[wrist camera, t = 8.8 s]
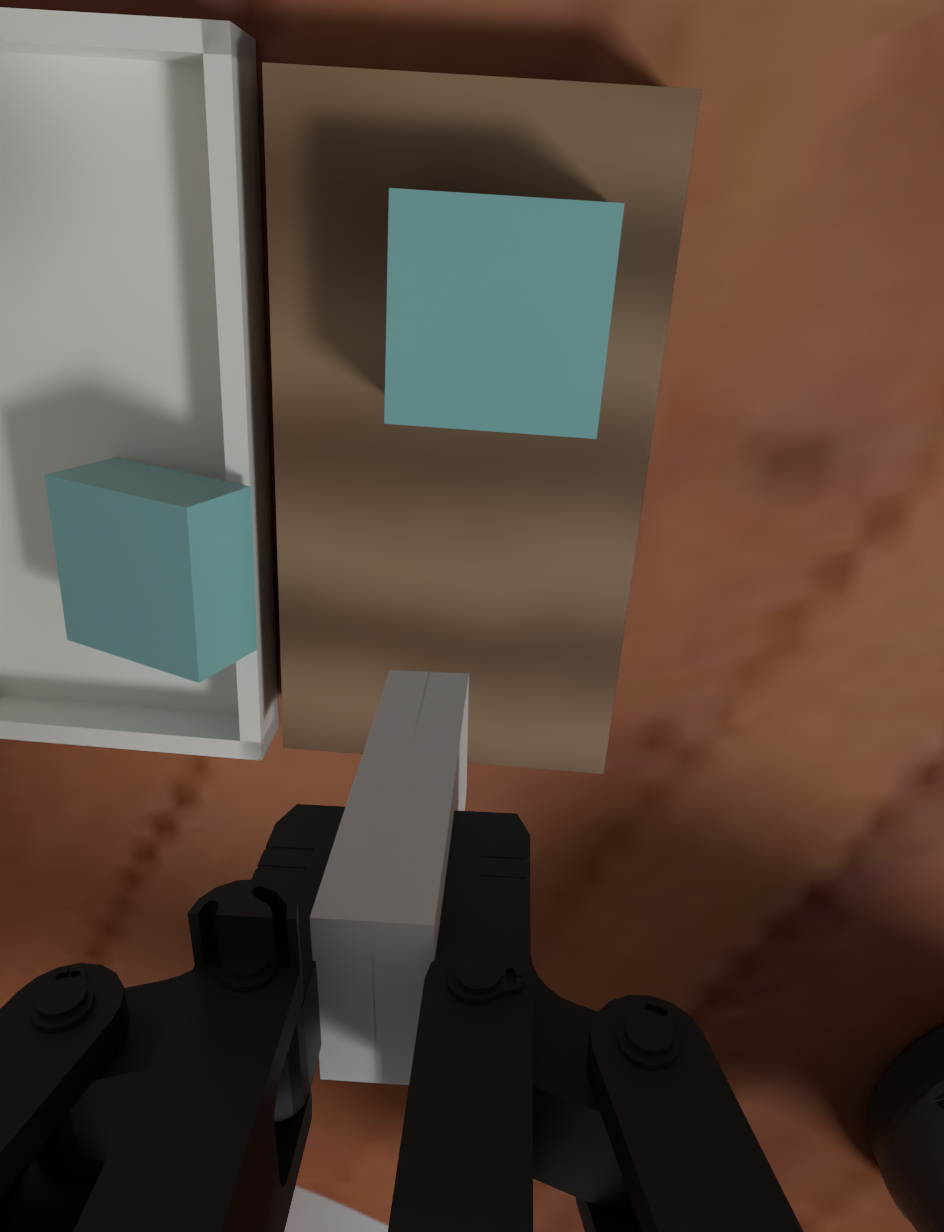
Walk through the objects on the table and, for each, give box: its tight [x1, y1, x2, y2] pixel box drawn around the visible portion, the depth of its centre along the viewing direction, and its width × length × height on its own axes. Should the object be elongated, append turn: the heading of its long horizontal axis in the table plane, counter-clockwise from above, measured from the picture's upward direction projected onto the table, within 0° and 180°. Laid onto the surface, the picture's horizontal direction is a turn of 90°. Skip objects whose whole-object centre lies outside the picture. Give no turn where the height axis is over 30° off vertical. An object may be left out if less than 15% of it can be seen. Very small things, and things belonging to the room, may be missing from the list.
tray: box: [0, 7, 279, 760], centre depth 30 cm, size 24×12×2 cm, turn 177°
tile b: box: [384, 188, 625, 439], centre depth 25 cm, size 6×6×3 cm
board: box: [262, 62, 702, 774], centre depth 30 cm, size 22×12×3 cm, turn 177°
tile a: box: [45, 457, 257, 683], centre depth 30 cm, size 6×6×3 cm
